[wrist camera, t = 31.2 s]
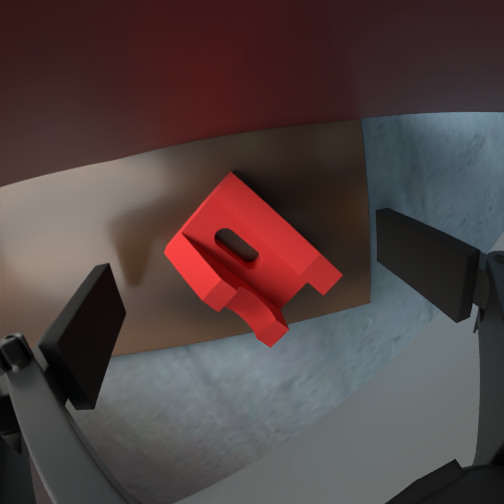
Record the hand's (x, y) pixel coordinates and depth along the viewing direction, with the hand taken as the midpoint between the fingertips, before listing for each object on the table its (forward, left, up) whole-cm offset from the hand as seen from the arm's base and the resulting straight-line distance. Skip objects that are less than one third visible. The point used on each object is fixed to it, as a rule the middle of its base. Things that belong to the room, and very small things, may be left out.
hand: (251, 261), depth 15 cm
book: (+5, -4, -1) cm, 7 cm away
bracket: (0, 0, -2) cm, 2 cm away
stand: (+8, +4, -3) cm, 9 cm away
